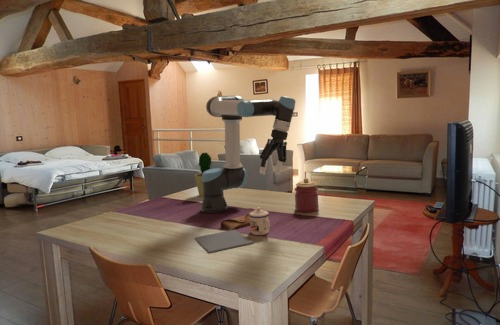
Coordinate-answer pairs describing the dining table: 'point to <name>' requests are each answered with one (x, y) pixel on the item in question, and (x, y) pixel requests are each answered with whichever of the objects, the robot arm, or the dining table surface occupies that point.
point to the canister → (306, 196)
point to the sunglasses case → (236, 222)
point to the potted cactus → (204, 166)
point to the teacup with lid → (259, 222)
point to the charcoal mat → (223, 241)
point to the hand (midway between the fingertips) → (269, 174)
